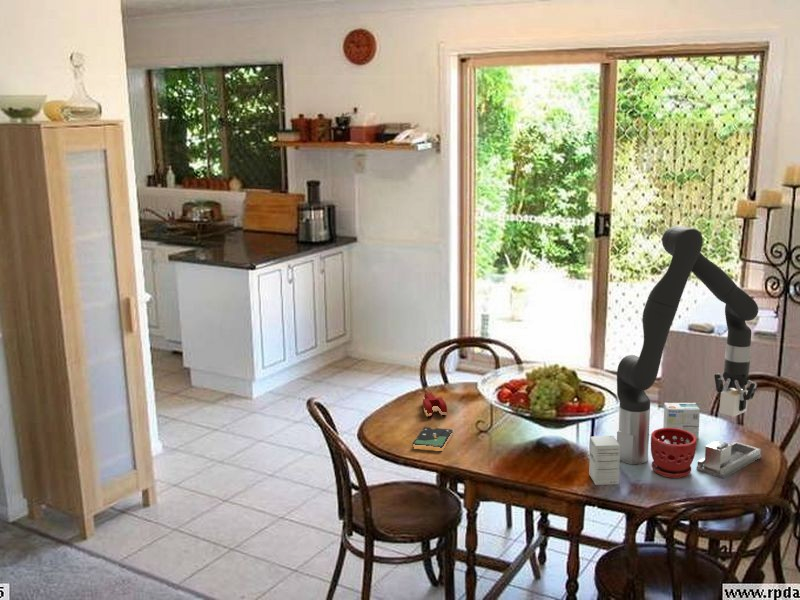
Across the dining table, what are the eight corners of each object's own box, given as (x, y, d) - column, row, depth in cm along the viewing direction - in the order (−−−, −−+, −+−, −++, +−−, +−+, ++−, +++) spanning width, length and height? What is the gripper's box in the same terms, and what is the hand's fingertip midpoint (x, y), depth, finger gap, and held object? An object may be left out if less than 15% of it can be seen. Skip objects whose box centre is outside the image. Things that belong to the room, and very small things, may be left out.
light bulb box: (694, 432, 285) (695, 402, 282) (699, 439, 278) (700, 409, 276) (662, 431, 286) (663, 401, 283) (666, 439, 279) (667, 408, 277)
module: (733, 416, 267) (735, 394, 266) (719, 412, 271) (721, 390, 270) (746, 411, 272) (748, 388, 271) (732, 407, 276) (734, 385, 275)
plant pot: (642, 473, 254) (643, 436, 252) (661, 459, 264) (662, 424, 261) (683, 485, 246) (685, 447, 243) (701, 470, 255) (703, 433, 253)
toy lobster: (447, 417, 305) (446, 404, 304) (427, 419, 304) (427, 406, 303) (436, 402, 320) (436, 390, 319) (418, 404, 319) (418, 392, 318)
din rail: (723, 478, 249) (725, 451, 247) (696, 469, 256) (697, 443, 254) (760, 457, 263) (762, 432, 261) (733, 449, 270) (735, 424, 268)
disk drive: (423, 434, 291) (412, 450, 277) (423, 426, 291) (412, 442, 277) (452, 436, 288) (442, 453, 275) (452, 429, 288) (442, 445, 274)
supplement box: (588, 474, 255) (589, 435, 252) (612, 473, 255) (614, 435, 252) (594, 485, 248) (595, 445, 245) (619, 484, 248) (620, 444, 245)
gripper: (710, 355, 271) (706, 405, 275) (753, 365, 260) (748, 416, 264) (722, 351, 275) (719, 400, 279) (765, 360, 265) (760, 411, 268)
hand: (733, 408), depth 272 cm, fingers closed on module, 5 cm apart
